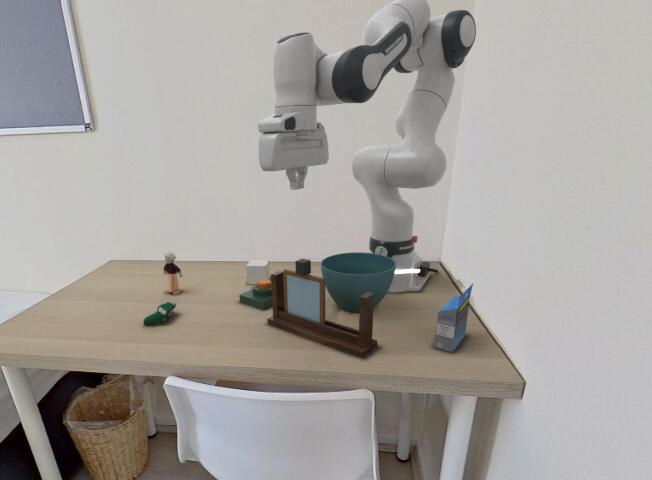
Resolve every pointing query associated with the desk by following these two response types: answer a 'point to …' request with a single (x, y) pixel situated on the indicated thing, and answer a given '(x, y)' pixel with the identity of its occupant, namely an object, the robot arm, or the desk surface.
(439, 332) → the blue cardboard box
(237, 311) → the desk surface
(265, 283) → the latch button
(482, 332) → the desk surface
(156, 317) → the green shoe
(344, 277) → the teal bowl
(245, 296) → the green push button base
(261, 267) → the white cube
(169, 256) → the grandmother figurine
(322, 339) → the window frame
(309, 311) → the window pane
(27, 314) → the desk surface
